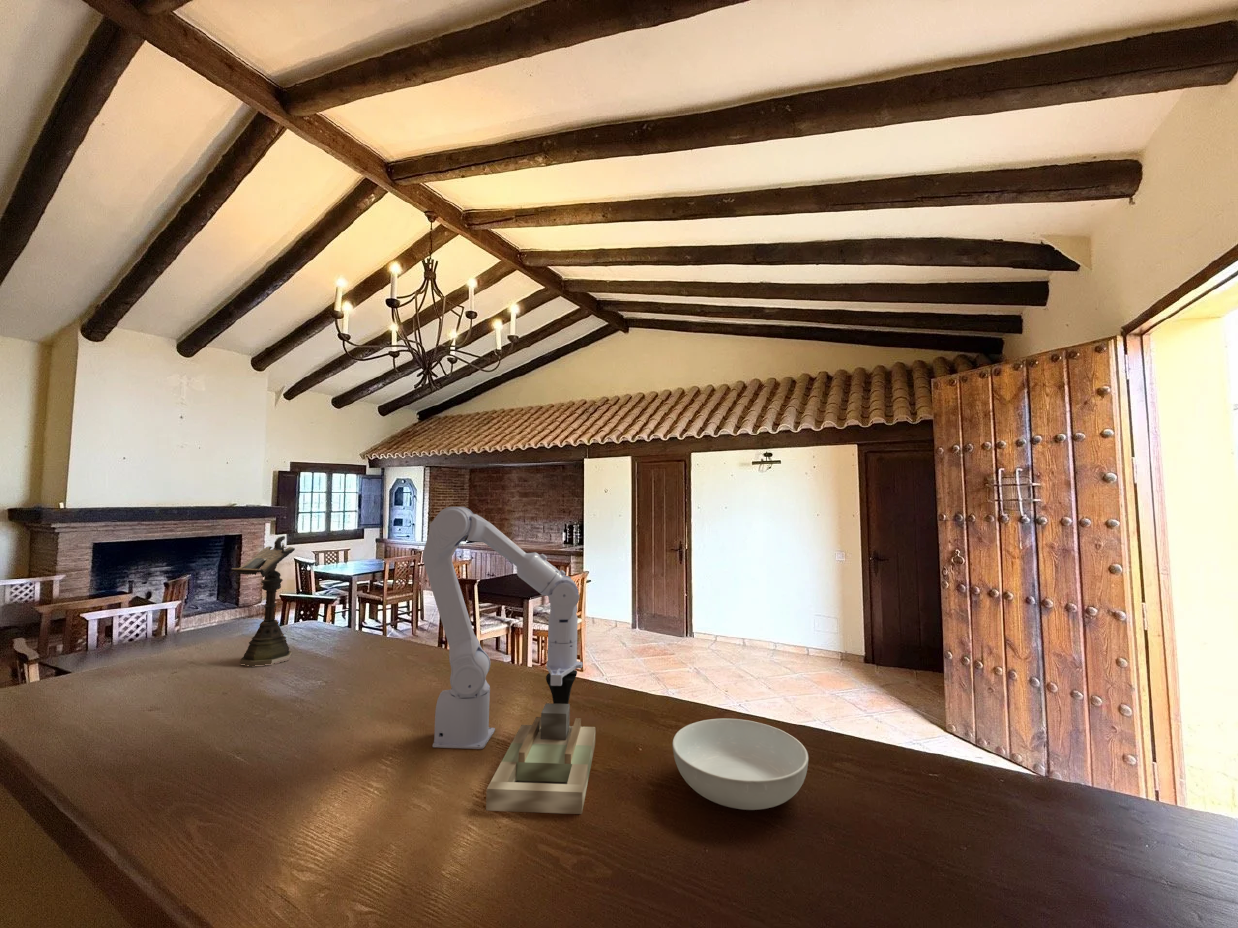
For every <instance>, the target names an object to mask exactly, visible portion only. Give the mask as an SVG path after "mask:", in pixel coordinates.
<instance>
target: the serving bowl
mask: <svg viewBox="0 0 1238 928" xmlns="http://www.w3.org/2000/svg"><path fill="white" fill-rule="evenodd" d="M671 744H672V752H673V757H674V761H675V764H676V767H677V769H678V772H679V773H680V776H682V778H683V779H684V781H685V783H686V784H687V785H688V786H690V788H692V789H693V791H695V793H697V794H699V795H700V796H702V797H703V798H705V799H707V800H709V801H711V802H713V803H715V804H718V805H720V806H723V807H728V808H731V809H738V810H744V811H745V810H746V811H755V810H756V811H757V810H766V809H769V808H774V807H777V806H780V805H783V804H784V803H786V802H788V801H789V800H791V799H792V798H793V797H794V796H795V795H796V794H797V793H798V792H799V790H800V789H801V787H802V785H804V782H805V780H806V776H807V773H808V772H807V771H808V766H809V753H808V750H807V749H806V747H805V746H804V745H803V743H802V742H800V740H798V739H797V737H794V736H793V735H791V734H789V733H788V732H786V731H784V730H782V729H780V728H778V727H774V726H771V725H769V724H765V723H762V722H757V721H753V720H748V719H741V718H740V719H739V718H728V717H727V718H711V719H703V720H700V721H695V722H693V723H689V724H687V725H685V726H684V727H682V728H680V729H679V730H678V731H677V732H676V733H675V734H674V737H673V739H672V743H671Z"/></svg>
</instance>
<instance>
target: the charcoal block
mask: <svg viewBox="0 0 1238 928" xmlns="http://www.w3.org/2000/svg"><path fill="white" fill-rule="evenodd" d="M570 707H571V704H570V703H568V704H553V702H552V703H550V702H549V703H547V702H546V703H545V704H544V707H543V708H542V711H541V712H540V717H541V739H546V740H566V738H567V735H568V732H569V726H570V721H571V720H570V718H571V717H570V714H571V713H570V710H571V708H570Z"/></svg>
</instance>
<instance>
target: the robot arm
mask: <svg viewBox="0 0 1238 928" xmlns="http://www.w3.org/2000/svg"><path fill="white" fill-rule="evenodd" d="M465 539H466V541H470V542H476V543H477V542H479V543H484V544H485V545H486V546H488V547H489V548H491V549H492V550H493V551H495V552H496V553H497V554H499V555H501V556H502V557H503V558H505V559H506V560H507V561H509V563H511V564H513V565H514V566H515V567H516V576H518V577H519V579H521V580H522V581H524V582H525V583H526V584H527V585H529V586H530V587H531V588H532V589H534V590H535V591H536V592H538V593H539V594H540V595H542V596H546V597H548V601H549V603H550V606H549V609H550V610H549V615H548V623H547V625H548V626H547V627H548V630H547V661H546V665H545V666H546V667H545V668H546V669H547V672H548V673H547V674H546V676H545V682H546V684H547V685H548V687H549V691H550V693H551V697H552V704H570V703H569V702H570V697H571V692H572V687H573V684H574V682H575V680H576V677H577V674H578V670H577V669H582V668H583V664H584V663H583V661H578V660H577V659H578V615H577V613H578V605H577V604H578V603H579V601H580V597H581V595H580V594H579V593H580V592H579V589H578V587H577V584H576V582H575V581H574V580H573V579H572V578H571V576H569V575H566V571H564V570H563V569H561V570H559V569H558V568H557V567H555V566H554V565H553V564H551V563H550V562H549V561H548V560H547V559H548V557H547V556H546V554H544V553H541V554H539V553H537V552H536V551H534V552H526V551H525V550H524V549H522V548H521V547H520V546H519V545H517V544H516V543H515V542H514V541H513V540H511V539H510V538H509V537H508V536H507V535H506V534H504V533H503V532H502V531H501V530H499V529H498V528H497V527H496V526H495V525H494V524H492V523H491V522H490V521H488V520H486V518H484V517H482V516H481V515H478V514H477V513H474V512H473V511H472V510H471V509H469V508H467V507H466V506H449V507H445V508H443V509H441V510H440V511H439V512H438V514H437V515H436V516H435V517H434V519H433V520H432V521H431V523H430V524H429V530H428V535H427V538H426V542H425V546H424V549H423V553H422V561H423V565H424V568H425V570H426V571H425V572H426V574H427V578H428V581H429V582H428V583H429V585H430V588H431V591H432V593H433V598H434V601H435V603H436V607H437V611H438V613H439V618H440V621H441V624H442V627H443V631H444V634H445V637H446V641H447V644H448V647H449V648H448V654H449V656H448V658H449V659H448V660H449V665H450V671H451V672H450V677H449V683H450V687H451V688H450V689H443V690H442V691H441V692H440V693H439V695H438V697H437V701H436V704H435V705H436V706H435V714H434V739H433V743H432V748H442V749H443V748H444V749H471V750H472V749H473V750H482V749H484V748H485V747H486V745H487V743H488V742H489V741H490V739H491V738H492V736H493V734H494V733H495V731H496V728H495V727H489V726H490V722H489V721H490V719H489V718H490V698H491V697H490V695H491V694H490V693H491V687H490V684H489V683H488V682H487V679H486V678H487V675H488V673H489V672H490V669H491V659H490V656H489V655H488V653H487V652H486V651H485V650H484V649H483V648H482V646H481V643H480V640H479V638H477V635H476V634H475V632H474V628H473V625H472V621H471V619H470V615H469V613H468V609H467V606H466V603H465V600H464V595H463V592H462V589H461V585H460V583H459V579H458V577H457V573H456V570H455V567H454V563H453V560H452V557H453V555H454V554H455V552H456V550H457V549H458V548H459V546H460V544H461V543H462V542H463V541H465Z"/></svg>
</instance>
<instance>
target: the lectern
mask: <svg viewBox="0 0 1238 928" xmlns="http://www.w3.org/2000/svg"><path fill="white" fill-rule="evenodd" d="M285 540H286V536H285V535H283V536H279V537H277V538H276V540H275V541H274V542H273V543H274V547H273V546H271V545H270V546H266V547H264V548H262V550H260V551H259V552H258V553H257V554H255V555H254V556H253V557H252V558H251V559H250V560H248V561H246V563H244V564H243V565H241V566H240V567H232V568H230V571H231V573H229V576H232V575H233V574H235V573H237V574H238V575H246V576H248V575H250V576H253V575H254V576H257V574H258V573H260V575H261V577H262V578H264V579H262V580H261V581H260V582H261V583H262V586H261V590H263V591H265V594H266V595H265V605H263V607H264V619H263V621H261V622H260V623H259V625H258V626H259V627H258V629H257V630H256V633H255V634H254V636H252V637H251V640H250V641H248V644H249V645H248V646H247V649H246V651H245V653H244V654H243V656H242V658H241V659H240V664H245V665H249V666H255V665H265V664H271V663H274V662H277V661H280V660H283V659H287V658H289V657H290V655H291V654H292V653H293V651H291V650H290V646H289V645H288V641H287V637H286V636H284V635H285V633H283V631H282V629H281V627H280V625H279V623H280V622H279V621H278V620H277V619H276V618H275V609H276V607H277V603H276V597H277V596H276V595H277V592H278V591H277V590H280V589H281V587H282V585H281V583H282V582H283V581H284V580H283V579H282V578H281V576H282V575H281V573H280V572H279V571H277V570H276V569H277V566H278V564H279V563H280V562H281V561H283V560H284V559H285V558H287V557H289V555H290V554H292V553H293V552H294V551H295V549H296V548H295V547H292V546H288V547H287V546H285V544H284V543H282V542H283V541H285ZM240 664H239V665H240Z"/></svg>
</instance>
